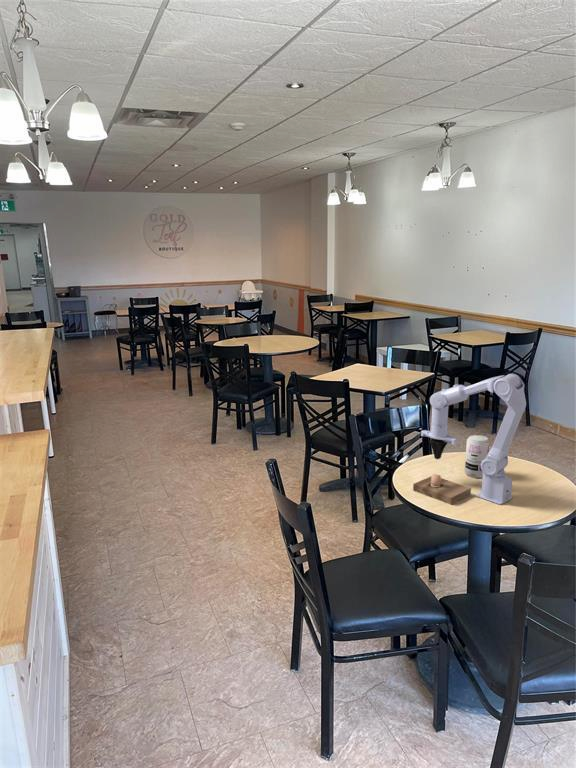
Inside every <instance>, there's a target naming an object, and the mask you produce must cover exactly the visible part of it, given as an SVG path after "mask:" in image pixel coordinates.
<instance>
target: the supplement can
mask: <svg viewBox="0 0 576 768" xmlns="http://www.w3.org/2000/svg"><path fill="white" fill-rule="evenodd" d="M465 444H466V446H465V461H464V462H465V463H464V474H465V475H466V476H468V477H470V478H475V479H482V478H483V471H482V469H481V462H482V461H483V460H484V459H485V458H486V457H487V455H488V453H489V451H490V441H489V438H488V437H487V436H484V435H479V434H472V435H469V436H468V438H467V439H466V443H465Z"/></svg>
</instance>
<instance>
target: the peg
mask: <svg viewBox="0 0 576 768" xmlns="http://www.w3.org/2000/svg"><path fill="white" fill-rule="evenodd" d="M441 478H442V477H441V475H439V474H438V473H437V474H434V473H433V474H431V487H434V488H440V479H441Z"/></svg>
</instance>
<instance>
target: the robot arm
mask: <svg viewBox="0 0 576 768" xmlns="http://www.w3.org/2000/svg"><path fill="white" fill-rule="evenodd" d="M485 391H488V392H490V393H491V394H493V393H495V394H496V395H497V396H498V397H499V398H500V399H501V400H503V402H505V404H506V405H507V409H506V411H505V414H504V416H503V419H502V422H501V423H500V427H499V429H498V431H497V435H496V436H495V440H494V442H493V444H492V447H491V448H490V449H489V453H488V455H487V457H486V458H485V459H484V460H483V461H482V462H481V469H482V471H483V478H481V479H482V481H481V492H478V493H477V494H476V495H475V496H476V497H477V498H480V499H483V500H486V501H488V502H492V503H495V504H498V505H504V504H505V503H506V502H508V501H510V500H511V499H513V497H512V492H513V480H512V478H511V477H510V476H508V475H506V471H505V468H506V467H507V466H508V464H509V458H508V457H509V454H510V452H509V449H510V446H511V444H512V441H513V439H514V436H515V434H516V431H517V429H518V427H519V425H520V421H521V419H522V416H523V414H524V413H525V410H526V407H527V400H526V395H525V383H524V382H523V380H522V378H521V377H520V376H519V375H517V374H515V373H508V374H507V375H498V376H493V377H490V378H487V379H484V380H481V381H479V382H477V383H474V384H470V385H468V386H466V385H464V384H459V383H456V384H454V385H453V386H452V387H450V388H443V389H441V390H440V391H437V392H435V393H433V394H432V395H431V396H430V397H429V404H430V406H431V422H430V423H431V425H430V426H431V427H430V430H426V429H424V430H423V429H422V430H421V431H420V436H421V437H427V438H430V439H429V440H428V443H429V445H430V447H431V450H432V452H433V453H432V454H433V456H434V459H435V460H439V459H441V458H442V454H443V452H444V451H445V450H444V449H445V448H446V446H447V445H448V443H449V444H451V445H453V446H455V445H457V444H458V438H456V437H453V436H451V435H449V434H448V422H449V421H448V418H449V417H448V416H449V406H451V405H454V404H458V403H461V402H464V401H466V400H468V398H469V396H470V395H474V394H478V393H482V392H485Z"/></svg>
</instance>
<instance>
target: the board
mask: <svg viewBox="0 0 576 768" xmlns="http://www.w3.org/2000/svg"><path fill="white" fill-rule="evenodd" d="M431 476H432V475H431ZM431 476H428V477H426V478H423V479H422V480H420V481H417V482H414V483H413V485H412V489H413V490H412V491H414V492H416V491H417V493H420V494H422V495H425V496H427V497H430V498H432V499H435V500H437V501H440V502H443V503H445V504H448V505H453V504H455V503H457V502H459V501H461V500H463V499H465V498H467V497H469V496H471V492H472V487H468V486H466V485H463V484H460V483H457V482H453V481H450V480H448V479H445V478H442V477H441V479H440V488H434V487H431Z"/></svg>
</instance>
